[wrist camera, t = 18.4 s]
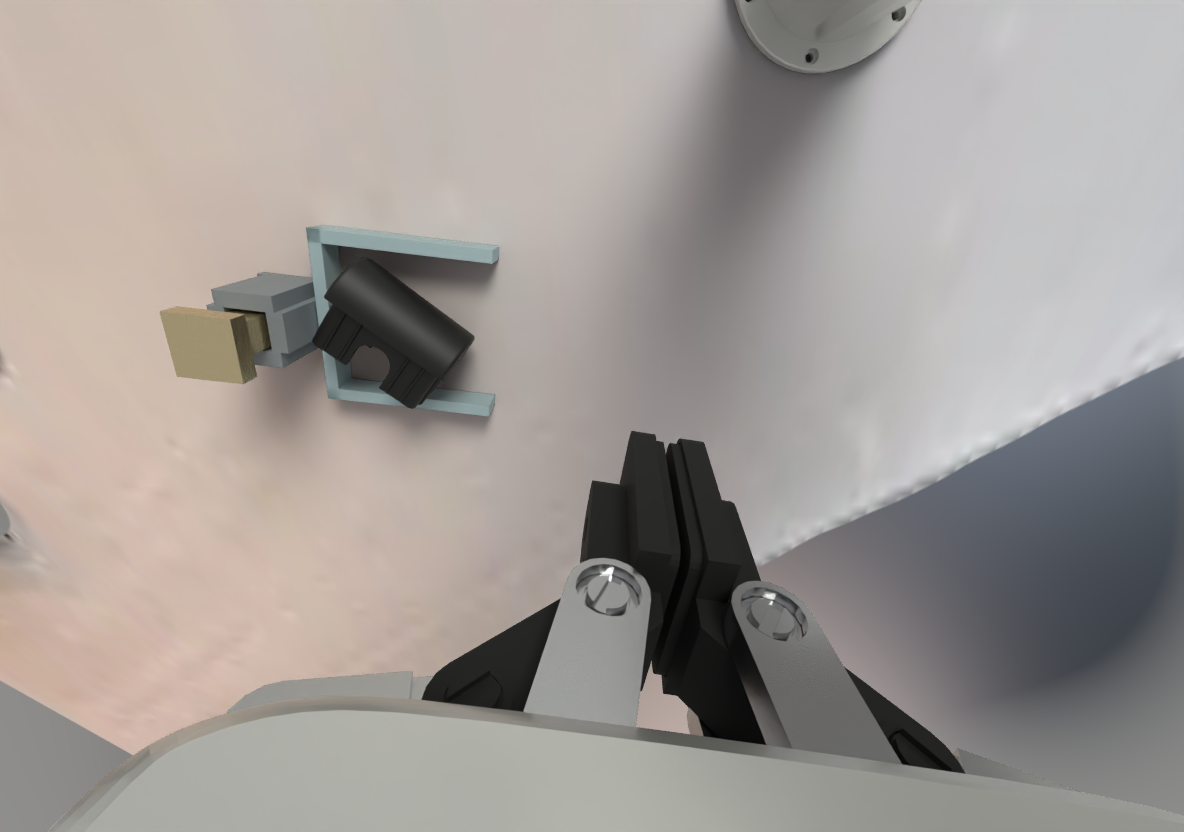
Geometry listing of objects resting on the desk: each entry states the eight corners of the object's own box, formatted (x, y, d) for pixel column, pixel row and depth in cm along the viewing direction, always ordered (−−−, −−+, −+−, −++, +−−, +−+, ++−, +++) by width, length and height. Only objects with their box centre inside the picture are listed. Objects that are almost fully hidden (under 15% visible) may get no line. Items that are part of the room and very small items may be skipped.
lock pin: (263, 280, 41) (159, 311, 31) (317, 287, 41) (229, 319, 31) (272, 332, 42) (177, 376, 33) (324, 339, 43) (243, 384, 33)
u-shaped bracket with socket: (253, 216, 39) (187, 223, 33) (499, 246, 40) (478, 258, 34) (281, 380, 45) (230, 412, 39) (494, 404, 46) (476, 439, 40)
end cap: (484, 326, 43) (463, 351, 37) (441, 385, 45) (415, 417, 39) (382, 249, 40) (341, 262, 34) (342, 316, 43) (297, 339, 37)
